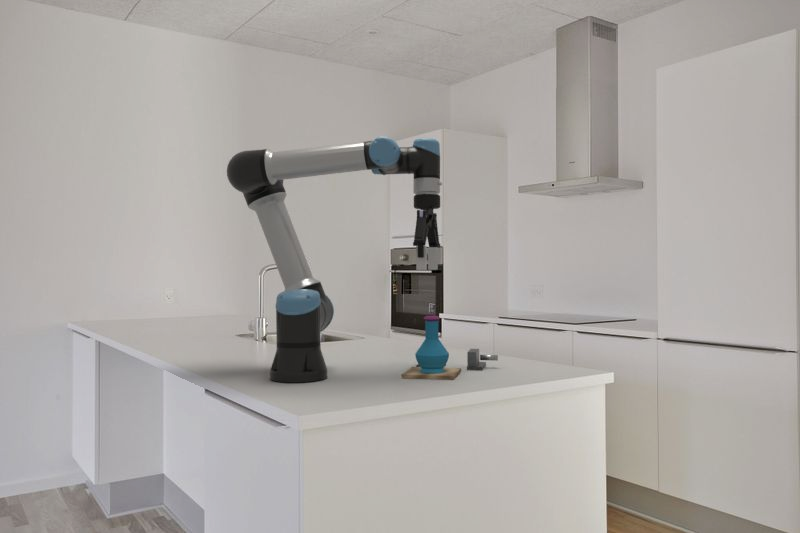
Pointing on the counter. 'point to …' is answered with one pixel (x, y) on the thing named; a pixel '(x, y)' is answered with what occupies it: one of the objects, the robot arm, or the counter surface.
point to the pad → (432, 374)
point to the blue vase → (432, 349)
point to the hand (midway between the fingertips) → (427, 270)
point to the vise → (476, 360)
